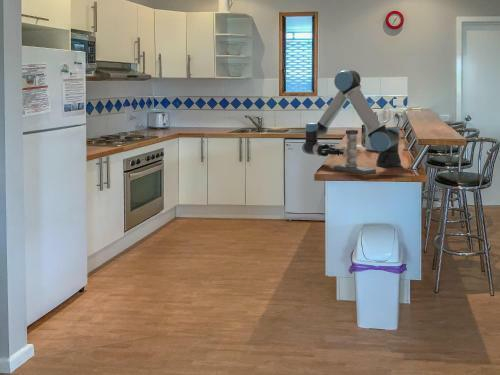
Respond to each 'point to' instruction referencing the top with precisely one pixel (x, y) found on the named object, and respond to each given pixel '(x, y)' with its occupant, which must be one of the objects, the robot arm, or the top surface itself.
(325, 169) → the top surface
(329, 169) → the top surface
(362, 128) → the coffee box
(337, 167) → the fader console
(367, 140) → the soap bottle
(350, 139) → the lever
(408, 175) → the top surface
